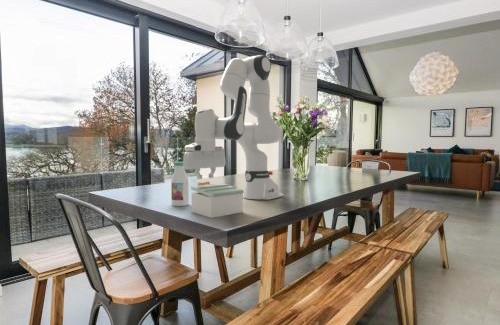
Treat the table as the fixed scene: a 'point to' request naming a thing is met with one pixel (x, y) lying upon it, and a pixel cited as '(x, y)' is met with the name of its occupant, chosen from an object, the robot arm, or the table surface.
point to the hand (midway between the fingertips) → (205, 178)
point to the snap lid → (216, 189)
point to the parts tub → (217, 204)
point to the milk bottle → (179, 186)
